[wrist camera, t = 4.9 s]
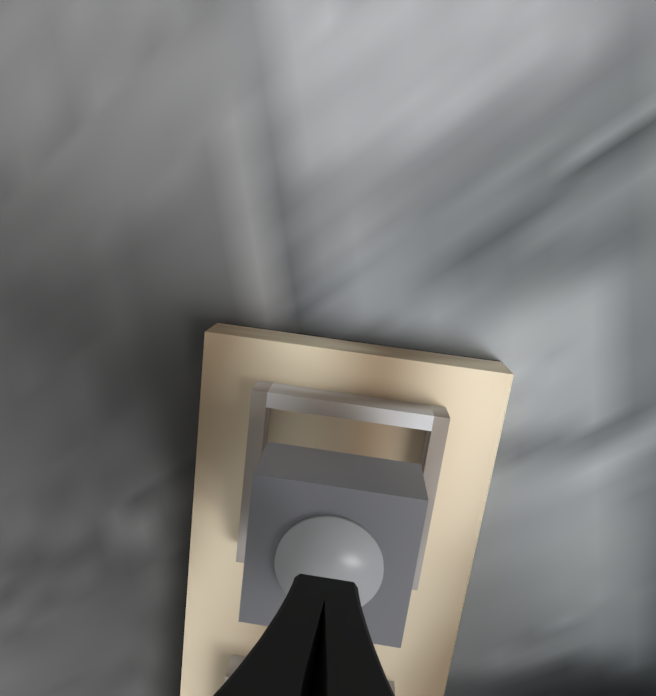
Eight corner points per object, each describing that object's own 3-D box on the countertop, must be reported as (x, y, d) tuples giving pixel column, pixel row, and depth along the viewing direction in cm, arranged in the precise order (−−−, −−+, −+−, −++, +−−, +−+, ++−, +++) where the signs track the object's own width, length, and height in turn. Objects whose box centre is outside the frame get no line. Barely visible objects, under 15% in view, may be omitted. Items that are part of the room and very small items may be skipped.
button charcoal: (420, 464, 15) (429, 503, 13) (397, 596, 16) (400, 653, 14) (267, 441, 15) (251, 476, 13) (254, 573, 16) (236, 625, 14)
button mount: (502, 362, 18) (522, 383, 16) (409, 800, 23) (414, 869, 21) (217, 323, 19) (194, 338, 16) (185, 761, 24) (164, 823, 21)
